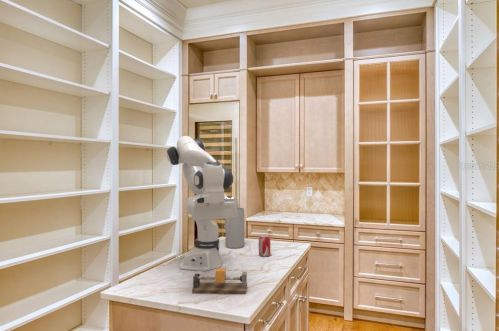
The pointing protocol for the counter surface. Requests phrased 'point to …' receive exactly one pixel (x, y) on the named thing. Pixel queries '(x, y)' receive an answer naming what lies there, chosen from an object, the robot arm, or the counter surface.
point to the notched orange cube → (220, 275)
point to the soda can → (264, 245)
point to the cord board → (219, 285)
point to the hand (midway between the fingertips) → (215, 229)
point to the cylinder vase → (235, 231)
